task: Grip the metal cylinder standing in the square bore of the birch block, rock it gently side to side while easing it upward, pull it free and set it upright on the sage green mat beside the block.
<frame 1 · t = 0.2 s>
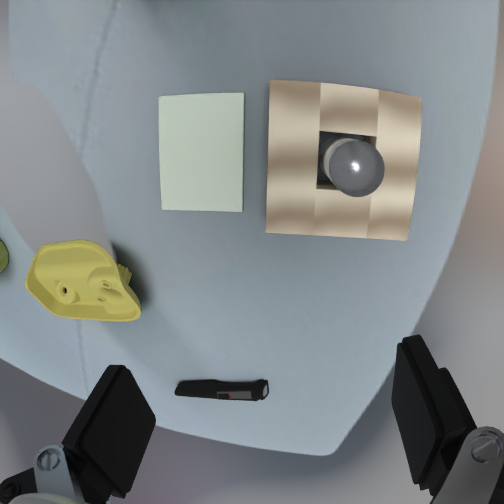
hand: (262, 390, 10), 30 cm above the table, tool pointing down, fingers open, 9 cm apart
electric trimmer: (224, 384, 51), on the table
plastic component: (94, 277, 45), on the table
plant pot: (0, 252, 45), on the table
mat: (201, 152, 37), on the table
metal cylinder: (346, 162, 31), in the bore block
bore block: (338, 157, 36), on the table
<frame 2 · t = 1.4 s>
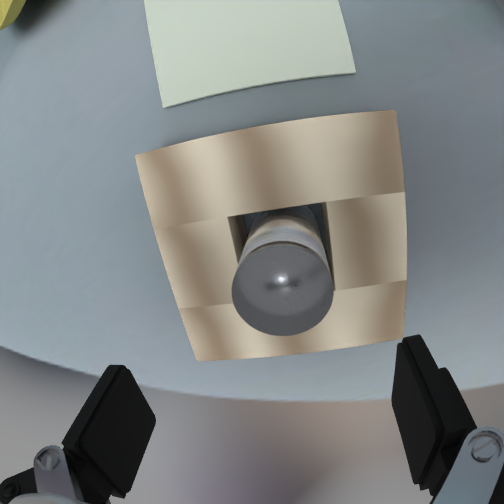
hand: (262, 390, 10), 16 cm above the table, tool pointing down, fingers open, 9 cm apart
mat: (245, 25, 19), on the table
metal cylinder: (284, 255, 20), in the bore block
bore block: (284, 229, 25), on the table
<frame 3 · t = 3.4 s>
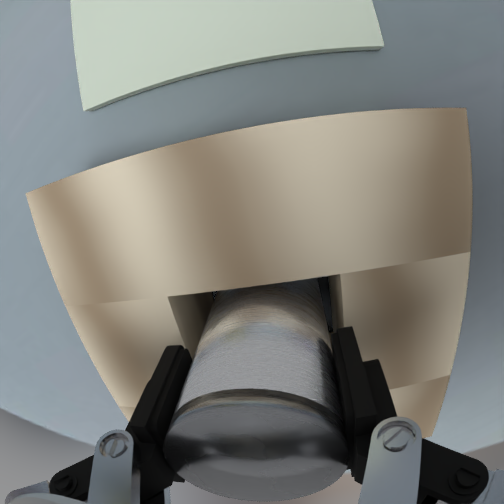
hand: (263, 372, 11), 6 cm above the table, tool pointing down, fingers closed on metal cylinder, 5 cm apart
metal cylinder: (265, 355, 12), in the bore block, touching gripper
bore block: (270, 292, 16), on the table
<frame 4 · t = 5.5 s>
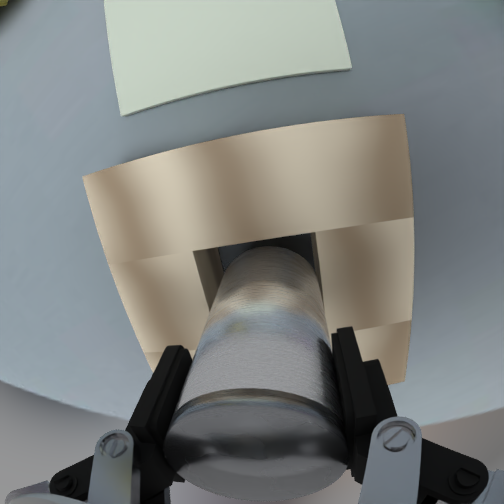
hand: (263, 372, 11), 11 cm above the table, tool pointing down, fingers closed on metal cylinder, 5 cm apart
mat: (217, 15, 15), on the table
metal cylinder: (265, 355, 12), point 10 cm above the table, touching gripper
bore block: (266, 258, 21), on the table
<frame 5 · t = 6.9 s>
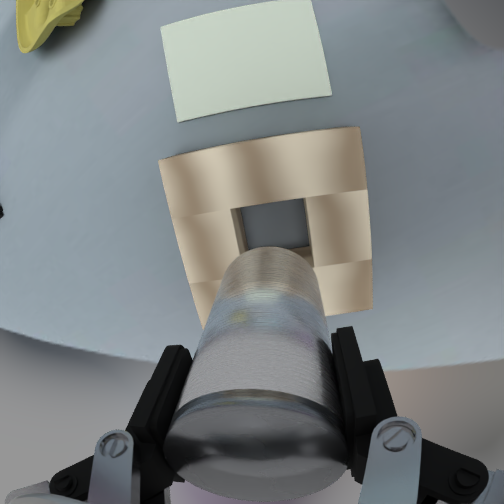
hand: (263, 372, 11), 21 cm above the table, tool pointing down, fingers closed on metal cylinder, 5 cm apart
mat: (244, 56, 25), on the table
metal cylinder: (265, 355, 12), point 20 cm above the table, touching gripper
bore block: (274, 221, 31), on the table
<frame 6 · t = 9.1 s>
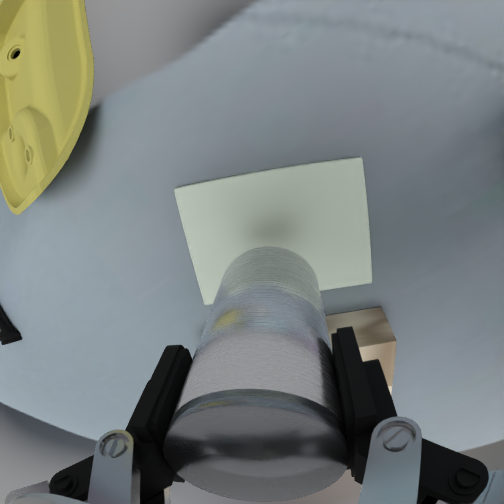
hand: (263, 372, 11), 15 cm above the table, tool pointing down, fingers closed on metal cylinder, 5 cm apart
plastic component: (45, 92, 22), on the table
mat: (277, 233, 25), on the table
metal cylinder: (265, 355, 12), point 14 cm above the table, touching gripper
bore block: (301, 383, 31), on the table
when the fingers open (8 cm above the table, at t = 11.1 s): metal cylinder drops 1 cm, resting on mat.
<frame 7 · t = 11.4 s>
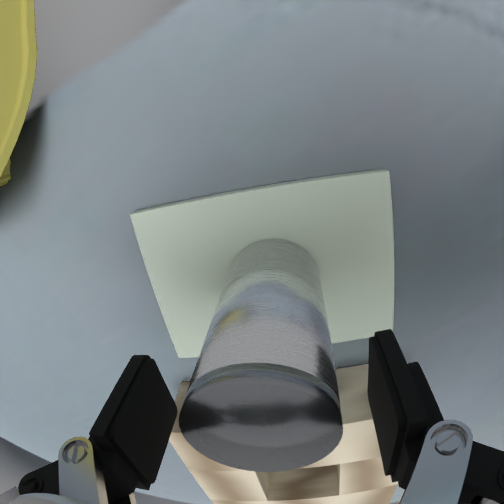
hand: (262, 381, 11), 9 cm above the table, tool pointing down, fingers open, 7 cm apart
mat: (271, 273, 19), on the table
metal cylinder: (269, 338, 13), on the mat, point 6 cm above the table
bore block: (300, 437, 24), on the table
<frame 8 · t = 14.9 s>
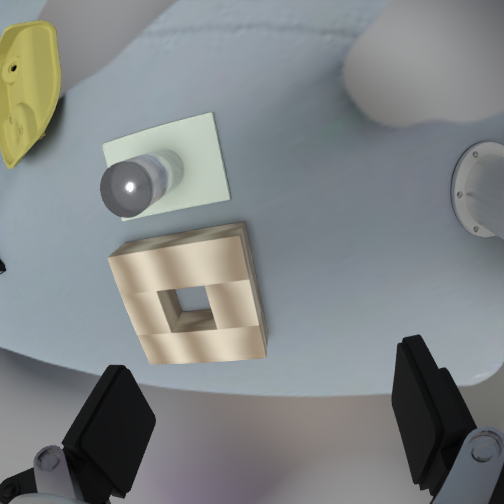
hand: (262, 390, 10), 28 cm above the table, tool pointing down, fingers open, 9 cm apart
plastic component: (32, 93, 33), on the table
mat: (164, 168, 36), on the table
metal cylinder: (146, 178, 31), on the mat, point 6 cm above the table
bore block: (196, 290, 42), on the table
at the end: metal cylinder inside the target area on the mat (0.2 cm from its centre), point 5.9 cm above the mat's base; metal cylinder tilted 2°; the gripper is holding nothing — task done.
